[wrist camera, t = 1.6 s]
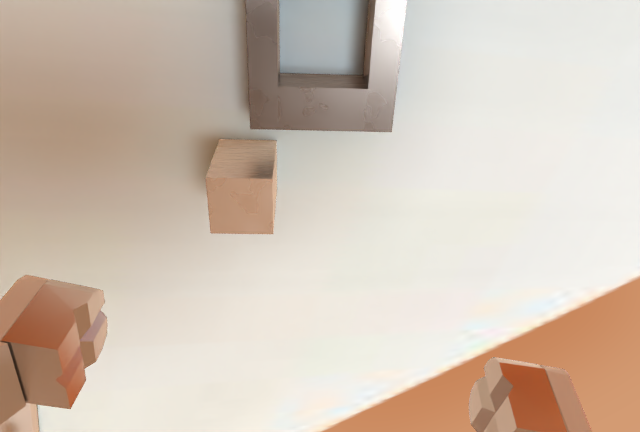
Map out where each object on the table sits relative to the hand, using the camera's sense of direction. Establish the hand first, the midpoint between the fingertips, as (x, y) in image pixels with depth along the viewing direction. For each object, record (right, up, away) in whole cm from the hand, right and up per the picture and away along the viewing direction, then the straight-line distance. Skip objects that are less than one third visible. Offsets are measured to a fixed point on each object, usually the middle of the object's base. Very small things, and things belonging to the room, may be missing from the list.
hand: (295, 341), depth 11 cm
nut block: (-5, +6, +26) cm, 27 cm away
